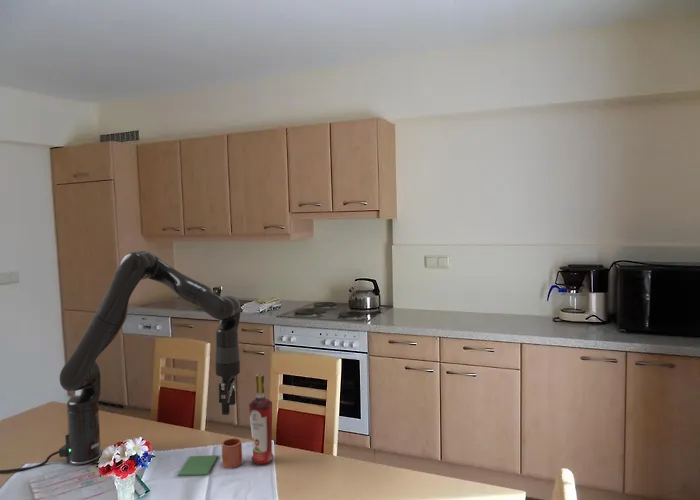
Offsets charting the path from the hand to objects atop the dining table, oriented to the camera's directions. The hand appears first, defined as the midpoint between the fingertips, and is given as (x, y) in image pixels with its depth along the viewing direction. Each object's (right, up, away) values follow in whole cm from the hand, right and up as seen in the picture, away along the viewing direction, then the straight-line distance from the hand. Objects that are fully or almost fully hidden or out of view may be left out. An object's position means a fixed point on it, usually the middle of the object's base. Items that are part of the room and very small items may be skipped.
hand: (229, 409), depth 159 cm
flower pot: (+1, -18, 0) cm, 18 cm away
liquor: (+11, -17, +1) cm, 20 cm away
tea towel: (-9, -18, -1) cm, 20 cm away
